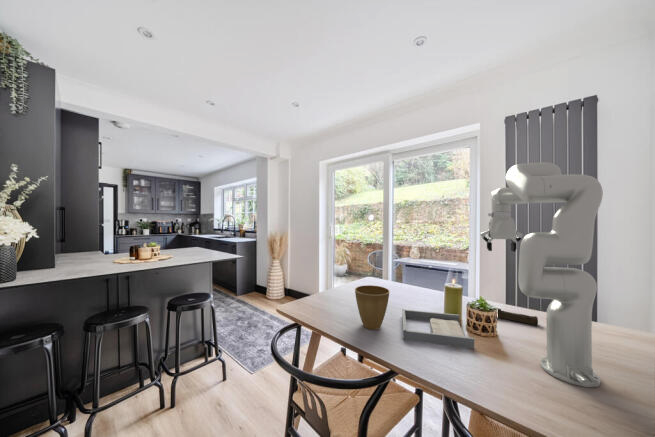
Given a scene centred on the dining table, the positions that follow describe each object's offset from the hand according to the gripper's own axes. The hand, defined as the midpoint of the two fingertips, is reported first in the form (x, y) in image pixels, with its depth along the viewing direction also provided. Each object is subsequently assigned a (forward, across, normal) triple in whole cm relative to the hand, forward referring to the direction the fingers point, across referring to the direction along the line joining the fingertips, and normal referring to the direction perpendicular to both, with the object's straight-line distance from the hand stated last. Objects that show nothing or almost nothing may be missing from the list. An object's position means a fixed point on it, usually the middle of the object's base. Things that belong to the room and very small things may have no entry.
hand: (501, 250), depth 114 cm
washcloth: (+32, -29, -26) cm, 50 cm away
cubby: (+31, -34, -26) cm, 53 cm away
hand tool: (+31, +1, -6) cm, 32 cm away
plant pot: (+31, -59, -29) cm, 73 cm away
